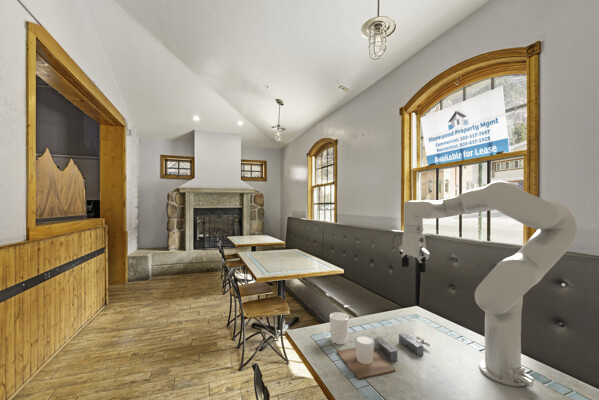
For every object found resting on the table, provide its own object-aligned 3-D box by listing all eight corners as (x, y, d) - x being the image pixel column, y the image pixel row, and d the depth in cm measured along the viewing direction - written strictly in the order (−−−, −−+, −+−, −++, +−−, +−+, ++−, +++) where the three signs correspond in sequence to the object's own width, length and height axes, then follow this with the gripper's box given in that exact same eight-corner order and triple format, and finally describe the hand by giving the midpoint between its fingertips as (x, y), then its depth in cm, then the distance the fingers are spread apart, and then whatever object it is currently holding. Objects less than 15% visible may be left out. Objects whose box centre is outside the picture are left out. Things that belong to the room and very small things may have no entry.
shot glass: (372, 354, 98) (372, 335, 98) (376, 365, 91) (376, 345, 91) (353, 353, 99) (353, 334, 99) (355, 364, 92) (355, 344, 92)
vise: (434, 352, 101) (434, 343, 101) (390, 361, 95) (390, 352, 95) (415, 339, 110) (415, 331, 110) (374, 347, 104) (374, 338, 104)
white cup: (334, 346, 105) (334, 321, 105) (326, 336, 112) (326, 313, 112) (352, 343, 107) (352, 318, 107) (343, 334, 114) (343, 311, 114)
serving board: (395, 371, 89) (395, 369, 89) (358, 379, 85) (358, 377, 85) (369, 346, 105) (369, 345, 105) (336, 352, 100) (336, 351, 100)
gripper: (436, 231, 107) (436, 273, 107) (406, 227, 123) (406, 264, 123) (421, 231, 105) (421, 275, 105) (392, 227, 121) (392, 265, 121)
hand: (413, 269), depth 114 cm, fingers open, 9 cm apart
